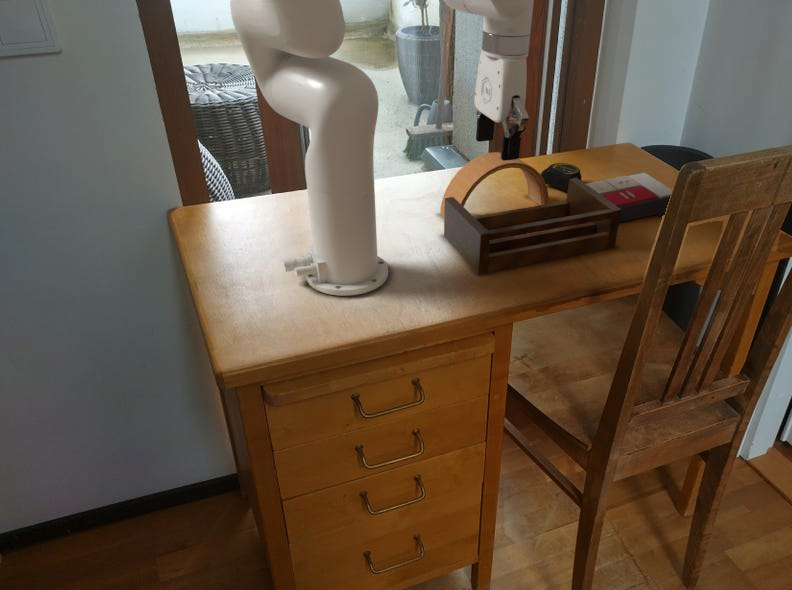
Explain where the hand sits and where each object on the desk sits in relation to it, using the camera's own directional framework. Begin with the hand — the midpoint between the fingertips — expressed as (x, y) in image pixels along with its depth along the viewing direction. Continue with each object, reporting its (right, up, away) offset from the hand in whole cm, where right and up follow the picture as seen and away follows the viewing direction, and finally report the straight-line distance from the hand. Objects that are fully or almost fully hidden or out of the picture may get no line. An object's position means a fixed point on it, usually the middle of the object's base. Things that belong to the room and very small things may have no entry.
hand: (496, 149), depth 124 cm
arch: (0, -9, +8) cm, 12 cm away
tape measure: (+13, -3, +17) cm, 22 cm away
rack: (+5, -16, -2) cm, 17 cm away
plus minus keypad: (+25, -8, +11) cm, 28 cm away
